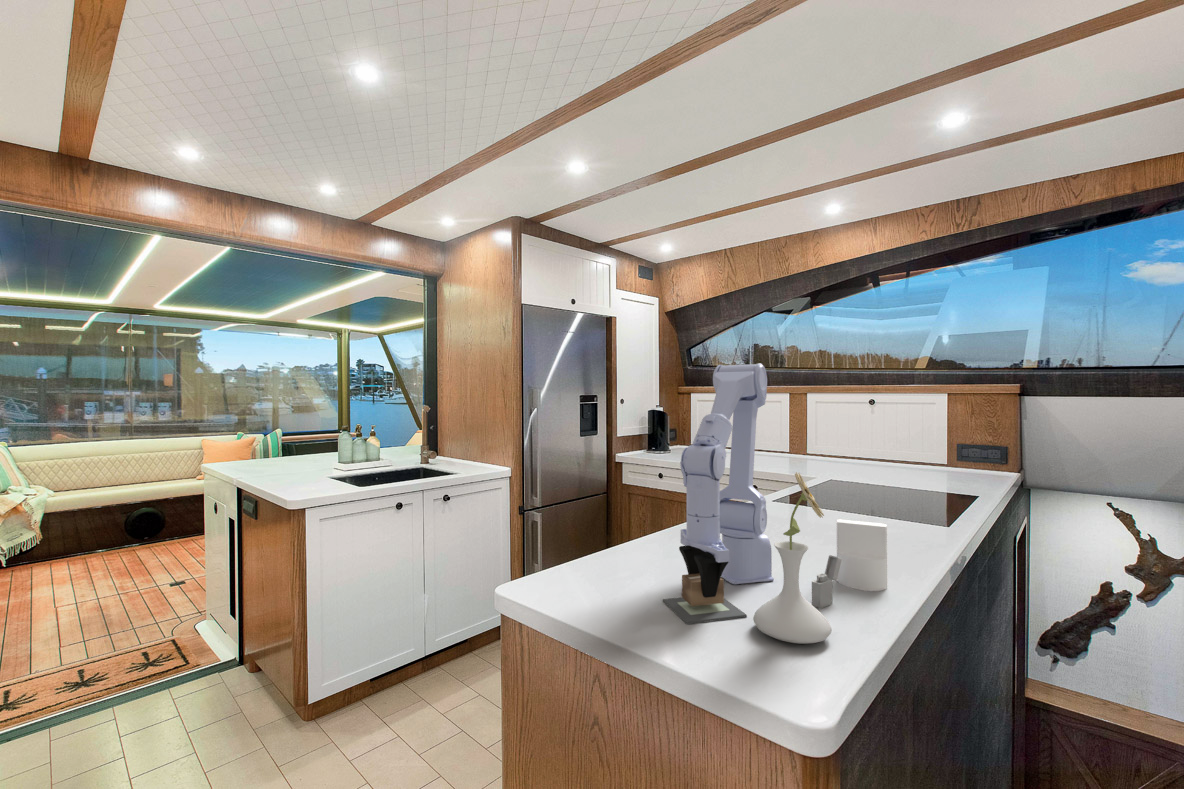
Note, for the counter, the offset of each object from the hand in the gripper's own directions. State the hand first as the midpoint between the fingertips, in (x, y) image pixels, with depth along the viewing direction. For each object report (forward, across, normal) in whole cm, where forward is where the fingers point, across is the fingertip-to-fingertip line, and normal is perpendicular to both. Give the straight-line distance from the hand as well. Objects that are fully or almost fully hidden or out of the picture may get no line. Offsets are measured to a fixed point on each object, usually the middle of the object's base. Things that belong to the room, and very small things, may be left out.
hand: (703, 591), depth 90 cm
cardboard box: (+2, 0, 0) cm, 2 cm away
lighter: (+3, +3, +23) cm, 23 cm away
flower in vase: (+3, +12, +10) cm, 16 cm away
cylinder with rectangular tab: (+3, -4, +37) cm, 37 cm away
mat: (+3, 0, 0) cm, 3 cm away
